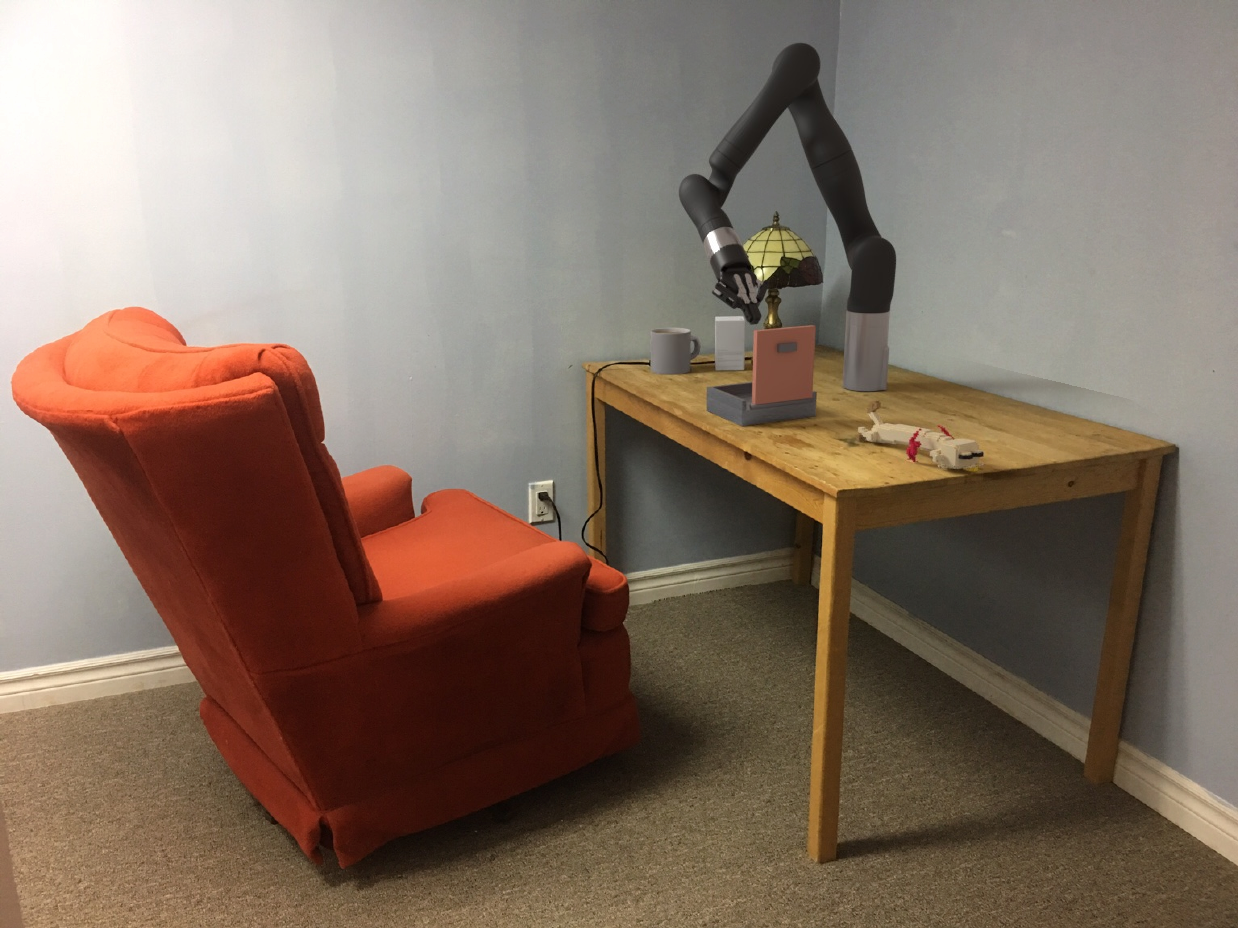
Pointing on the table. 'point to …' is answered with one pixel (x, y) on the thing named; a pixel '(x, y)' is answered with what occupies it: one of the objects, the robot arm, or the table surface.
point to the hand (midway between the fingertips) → (755, 322)
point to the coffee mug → (672, 350)
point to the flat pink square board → (783, 367)
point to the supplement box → (729, 343)
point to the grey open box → (736, 406)
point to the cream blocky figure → (923, 442)
